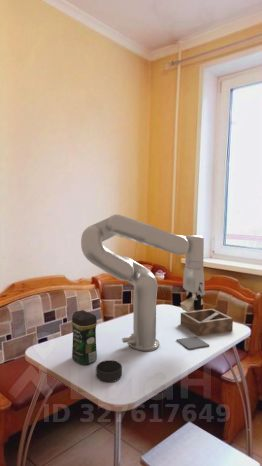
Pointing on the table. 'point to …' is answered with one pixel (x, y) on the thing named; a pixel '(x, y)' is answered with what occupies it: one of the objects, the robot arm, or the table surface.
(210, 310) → the block
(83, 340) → the coffee jar
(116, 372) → the black round bowl
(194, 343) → the rubber mat
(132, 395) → the table surface
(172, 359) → the table surface
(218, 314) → the lever
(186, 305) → the tan rectangular block
